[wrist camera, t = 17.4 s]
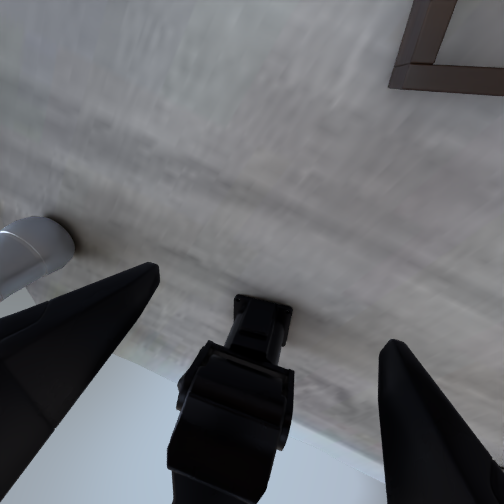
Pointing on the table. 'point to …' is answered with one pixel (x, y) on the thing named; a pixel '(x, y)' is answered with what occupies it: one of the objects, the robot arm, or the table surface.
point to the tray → (425, 52)
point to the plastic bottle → (31, 252)
